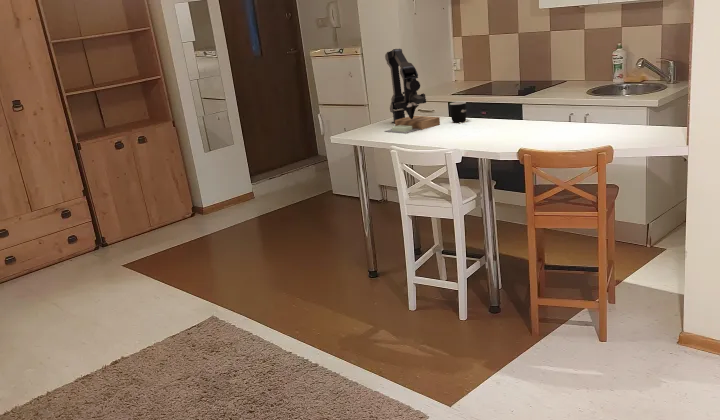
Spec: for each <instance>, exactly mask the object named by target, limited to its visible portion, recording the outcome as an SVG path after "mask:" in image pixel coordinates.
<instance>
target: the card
mask: <svg viewBox="0 0 720 420" xmlns="http://www.w3.org/2000/svg"><path fill="white" fill-rule="evenodd" d="M391 129H392V131H400V132H406V131H409V130H412V126H407V125H398V126H391Z"/></svg>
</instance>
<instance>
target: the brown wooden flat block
mask: <svg viewBox="0 0 720 420" xmlns="http://www.w3.org/2000/svg"><path fill="white" fill-rule="evenodd" d="M440 122H441V119H440V117H439V116H427V115H426V116H424V115H423V116H422V115H414V116H413V119H410V117H409V116H407V117H406V116H405V118H402V119H398V120H395V123H394V125H395V126H398V125H407V126H412V128H416V129H420V130H425V129H429V128H433V127H436V126H439V125H441V123H440Z"/></svg>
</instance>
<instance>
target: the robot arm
mask: <svg viewBox="0 0 720 420" xmlns="http://www.w3.org/2000/svg"><path fill="white" fill-rule="evenodd" d="M384 58H385V61H386V64H387V66H388V67H389V68H390V76H391V77H390V78H391V83H392V84H391V85H392V90H393V91H392V93H393V94H392V97H391V99H390V100H391V102H390V105H389V110H390V113H392V117H393V118H392V119H393V121H391V123H392V124H395V120H398V119H402V118H405V117H406V114H407V115H408V117H410V119H413V116H415V112H416V108H417V107H419V106H420V105H421V104H426V103H427V98H426V93H421V94H418V92H417V91H419V90H420V88H421V83H420V81H419V80H417V79H418V78H419V73H418V71H417V69H416V66H414V65H413V63H411V62H409V61H408V60H407V57H405V54H404V53H403V49H402V48H393V49H392V50H390V51H387V52H386V53H385V55H384ZM401 78H402V83H403V84H401ZM402 85H403V91H402ZM405 112H406V114H405Z"/></svg>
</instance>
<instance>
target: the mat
mask: <svg viewBox="0 0 720 420" xmlns="http://www.w3.org/2000/svg"><path fill="white" fill-rule="evenodd" d="M420 130H421V129H416V128H412V130H409V131H406V132H400V131H392V128H390V129H387V130H384V132H385V133H396V134H409V133H413V132H417V131H420Z"/></svg>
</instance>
